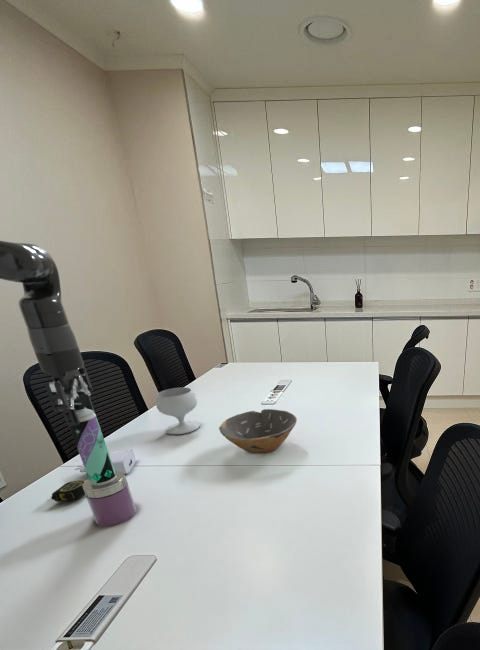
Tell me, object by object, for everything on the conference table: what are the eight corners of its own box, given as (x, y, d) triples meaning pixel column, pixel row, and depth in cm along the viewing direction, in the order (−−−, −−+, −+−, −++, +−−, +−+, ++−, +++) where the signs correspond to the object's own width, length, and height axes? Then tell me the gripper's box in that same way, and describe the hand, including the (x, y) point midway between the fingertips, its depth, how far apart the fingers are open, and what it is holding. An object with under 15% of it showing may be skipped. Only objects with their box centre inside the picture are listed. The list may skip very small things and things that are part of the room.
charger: (84, 467, 124) (136, 461, 127) (72, 482, 115) (127, 475, 118) (79, 454, 122) (132, 448, 125) (66, 468, 113) (122, 461, 117)
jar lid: (79, 500, 91) (75, 492, 90) (93, 482, 99) (90, 473, 98) (120, 494, 93) (117, 486, 92) (131, 476, 101) (128, 468, 100)
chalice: (189, 437, 143) (180, 398, 137) (155, 435, 145) (144, 397, 139) (209, 422, 156) (201, 386, 150) (178, 421, 158) (169, 386, 152)
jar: (90, 529, 95) (76, 494, 90) (103, 508, 102) (91, 475, 98) (130, 522, 97) (118, 488, 92) (140, 502, 105) (130, 470, 100)
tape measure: (72, 490, 111) (67, 479, 110) (95, 490, 111) (91, 479, 109) (53, 504, 105) (48, 492, 103) (78, 504, 105) (73, 492, 103)
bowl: (238, 474, 117) (233, 445, 113) (215, 446, 135) (209, 420, 131) (312, 451, 130) (310, 423, 126) (282, 428, 148) (279, 403, 144)
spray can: (88, 480, 95) (59, 403, 87) (113, 472, 99) (88, 397, 90) (93, 488, 92) (63, 409, 83) (119, 479, 95) (93, 403, 87)
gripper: (51, 342, 87) (76, 410, 94) (16, 356, 75) (47, 432, 81) (89, 340, 89) (110, 406, 96) (61, 353, 76) (88, 428, 83)
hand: (81, 418), depth 89 cm, fingers open, 8 cm apart
